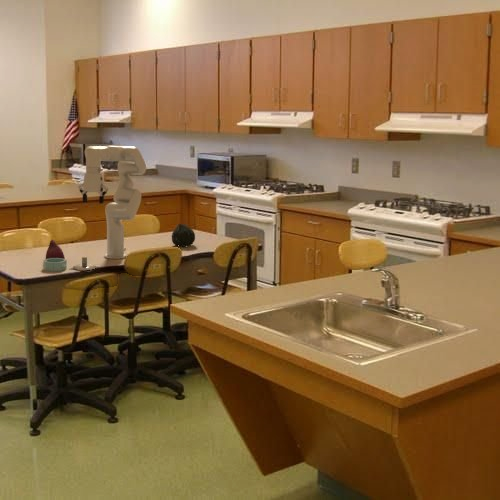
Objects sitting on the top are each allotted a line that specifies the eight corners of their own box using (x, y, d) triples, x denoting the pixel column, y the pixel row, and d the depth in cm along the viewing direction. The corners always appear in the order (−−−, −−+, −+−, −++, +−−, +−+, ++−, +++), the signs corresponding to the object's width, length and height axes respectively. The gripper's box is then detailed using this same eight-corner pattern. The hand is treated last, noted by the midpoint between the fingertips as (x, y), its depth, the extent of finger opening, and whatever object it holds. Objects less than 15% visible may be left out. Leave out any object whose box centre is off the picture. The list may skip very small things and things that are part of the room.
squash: (202, 237, 462) (189, 218, 463) (191, 241, 448) (177, 222, 450) (188, 249, 468) (174, 231, 470) (176, 254, 455) (162, 235, 456)
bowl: (51, 266, 392) (51, 257, 391) (69, 268, 389) (69, 259, 388) (40, 270, 382) (40, 261, 381) (58, 272, 379) (58, 263, 378)
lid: (80, 264, 397) (80, 254, 396) (100, 266, 393) (100, 256, 392) (68, 269, 385) (68, 258, 384) (89, 271, 382) (89, 260, 381)
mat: (80, 265, 397) (80, 264, 397) (100, 267, 393) (100, 266, 393) (68, 270, 385) (68, 269, 385) (89, 272, 382) (89, 271, 382)
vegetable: (55, 270, 397) (52, 246, 390) (42, 265, 402) (38, 241, 395) (69, 263, 404) (66, 239, 397) (56, 258, 409) (53, 234, 402)
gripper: (111, 171, 388) (111, 203, 391) (82, 169, 393) (82, 200, 396) (104, 172, 381) (104, 204, 384) (75, 170, 386) (75, 202, 389)
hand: (93, 202), depth 390 cm, fingers open, 9 cm apart
